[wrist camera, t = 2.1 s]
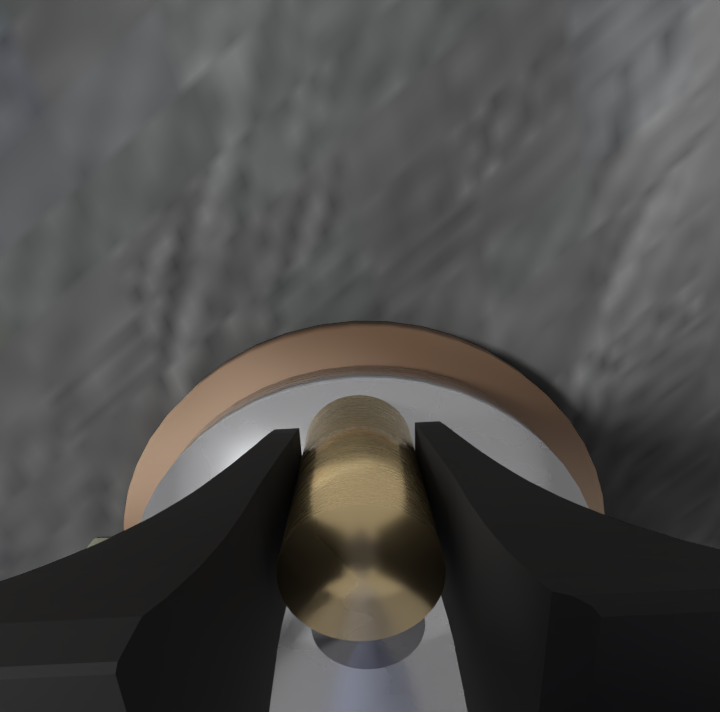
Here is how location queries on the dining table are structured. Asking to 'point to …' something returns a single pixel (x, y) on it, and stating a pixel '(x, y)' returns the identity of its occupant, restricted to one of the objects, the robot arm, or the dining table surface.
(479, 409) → the handwheel
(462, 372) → the wheel base
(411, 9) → the dining table surface
